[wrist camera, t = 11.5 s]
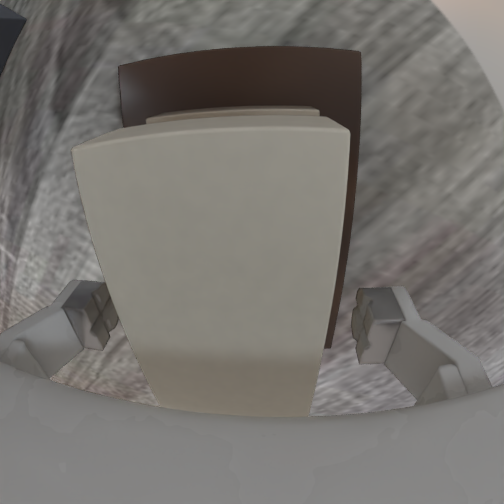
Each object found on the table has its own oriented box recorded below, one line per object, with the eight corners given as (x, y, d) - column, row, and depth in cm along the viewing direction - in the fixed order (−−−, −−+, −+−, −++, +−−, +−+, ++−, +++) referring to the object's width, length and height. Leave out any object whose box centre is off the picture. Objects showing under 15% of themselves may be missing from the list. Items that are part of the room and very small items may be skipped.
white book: (117, 128, 8) (68, 148, 6) (329, 116, 7) (351, 129, 5) (177, 373, 13) (164, 416, 11) (304, 379, 13) (306, 426, 11)
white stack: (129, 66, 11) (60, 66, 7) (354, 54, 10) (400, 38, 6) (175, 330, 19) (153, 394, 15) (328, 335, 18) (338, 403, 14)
